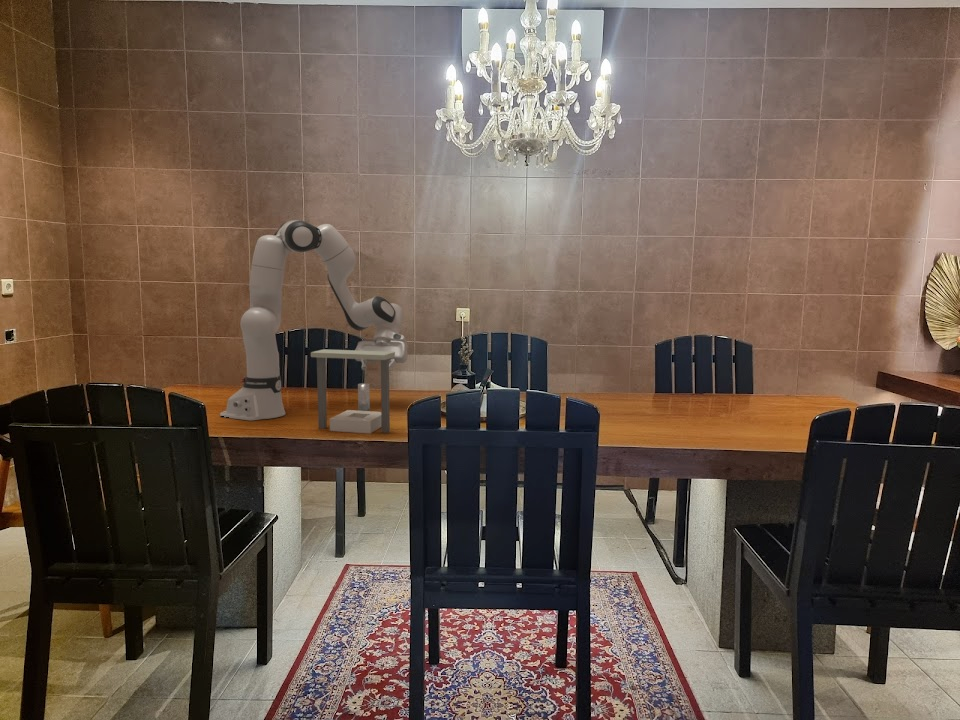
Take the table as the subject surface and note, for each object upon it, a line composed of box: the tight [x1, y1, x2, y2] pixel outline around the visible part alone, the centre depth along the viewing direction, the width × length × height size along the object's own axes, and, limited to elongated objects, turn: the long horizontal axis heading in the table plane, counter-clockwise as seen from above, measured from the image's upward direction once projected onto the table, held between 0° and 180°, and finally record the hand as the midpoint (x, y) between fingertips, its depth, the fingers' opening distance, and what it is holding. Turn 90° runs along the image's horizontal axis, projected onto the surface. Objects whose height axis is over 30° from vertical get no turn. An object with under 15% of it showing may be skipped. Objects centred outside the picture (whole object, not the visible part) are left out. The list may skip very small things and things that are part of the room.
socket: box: [329, 409, 382, 434], centre depth 213 cm, size 14×14×4 cm
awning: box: [310, 349, 395, 434], centre depth 208 cm, size 25×9×26 cm, turn 77°
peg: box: [357, 382, 371, 411], centre depth 227 cm, size 4×4×12 cm
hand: (375, 369), depth 236 cm, fingers open, 8 cm apart
